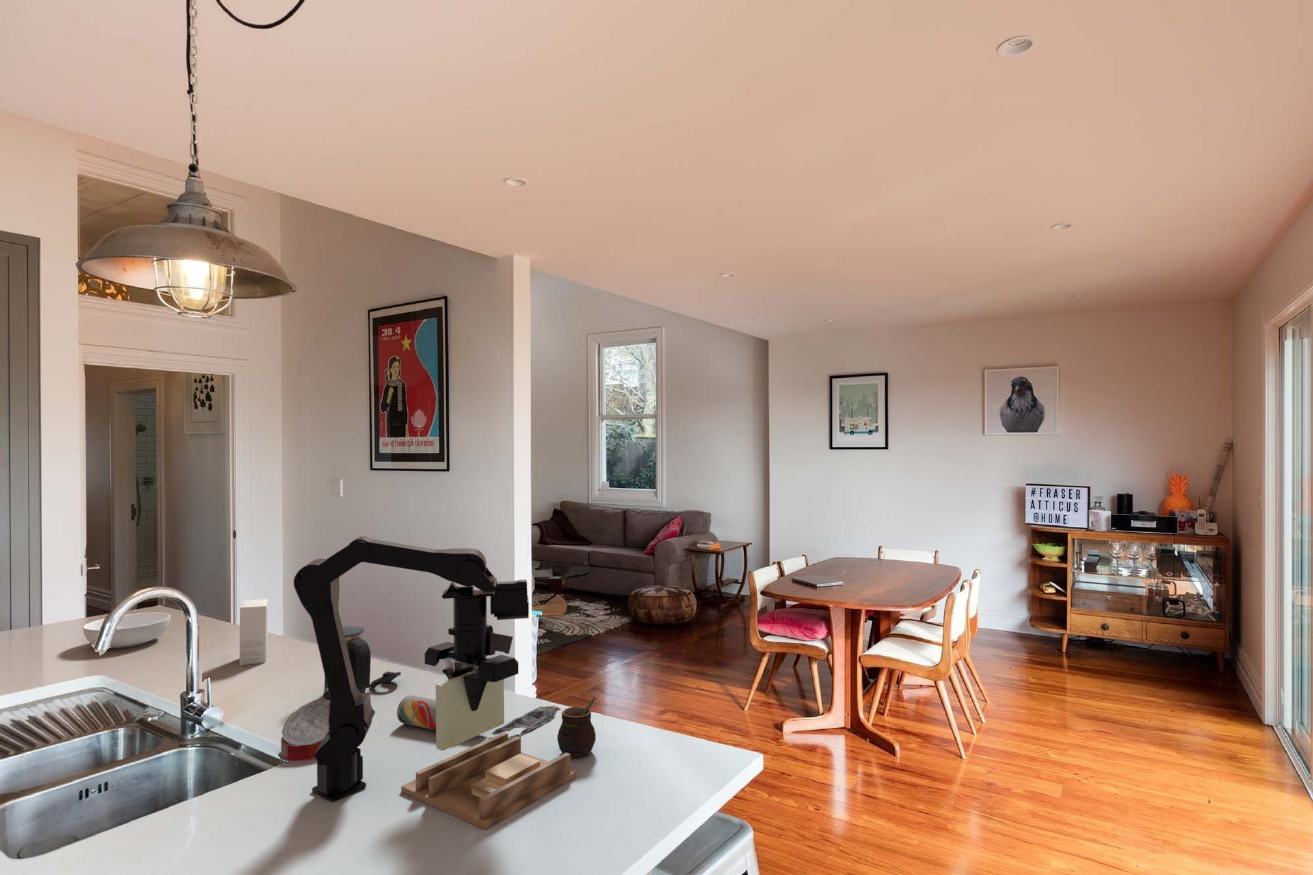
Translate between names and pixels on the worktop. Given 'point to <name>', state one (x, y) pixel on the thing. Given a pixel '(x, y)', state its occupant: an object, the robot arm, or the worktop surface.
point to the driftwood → (529, 720)
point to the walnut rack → (456, 774)
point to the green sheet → (466, 711)
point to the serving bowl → (132, 629)
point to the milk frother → (360, 661)
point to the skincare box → (253, 631)
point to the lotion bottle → (417, 711)
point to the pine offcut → (484, 788)
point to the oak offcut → (511, 769)
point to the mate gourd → (576, 731)
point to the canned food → (305, 731)
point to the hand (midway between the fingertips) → (471, 709)
